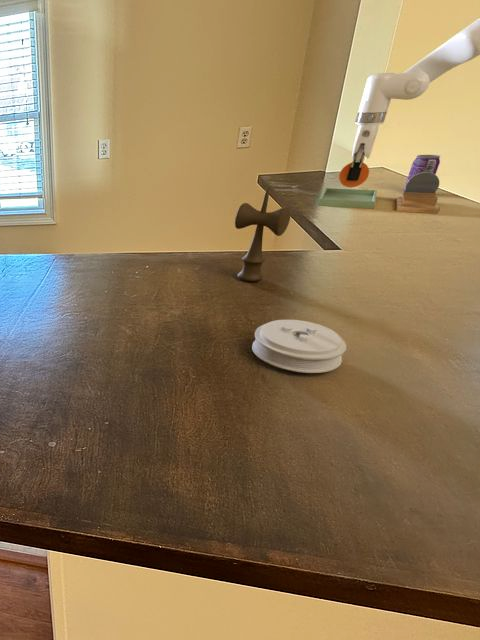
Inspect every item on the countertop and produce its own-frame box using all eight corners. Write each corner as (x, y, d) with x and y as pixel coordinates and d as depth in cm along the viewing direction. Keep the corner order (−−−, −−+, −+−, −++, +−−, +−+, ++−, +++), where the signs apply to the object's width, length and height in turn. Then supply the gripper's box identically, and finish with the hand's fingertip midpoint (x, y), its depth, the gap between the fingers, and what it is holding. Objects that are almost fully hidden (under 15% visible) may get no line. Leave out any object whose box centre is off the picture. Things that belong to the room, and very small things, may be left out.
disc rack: (396, 200, 159) (400, 188, 157) (434, 202, 154) (439, 190, 152) (396, 211, 148) (400, 198, 146) (438, 213, 143) (442, 200, 141)
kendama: (266, 288, 103) (287, 192, 93) (222, 278, 110) (238, 187, 100) (277, 280, 107) (299, 186, 97) (234, 271, 113) (250, 183, 103)
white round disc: (245, 337, 85) (251, 311, 82) (327, 342, 81) (335, 316, 79) (257, 374, 75) (263, 346, 72) (351, 382, 71) (361, 352, 68)
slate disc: (402, 198, 155) (410, 171, 151) (434, 198, 151) (443, 171, 147) (402, 198, 154) (410, 172, 151) (434, 199, 150) (443, 172, 146)
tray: (323, 194, 174) (325, 188, 173) (374, 196, 166) (376, 190, 165) (317, 205, 160) (319, 198, 159) (373, 208, 152) (375, 201, 151)
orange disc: (336, 185, 163) (343, 160, 159) (364, 187, 159) (372, 162, 155) (335, 186, 162) (343, 161, 158) (363, 188, 158) (372, 162, 154)
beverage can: (431, 192, 165) (445, 155, 159) (423, 196, 162) (437, 158, 156) (407, 190, 170) (420, 154, 164) (398, 193, 167) (411, 156, 161)
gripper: (384, 120, 143) (364, 184, 152) (385, 116, 154) (366, 176, 163) (354, 121, 147) (337, 183, 156) (357, 116, 158) (340, 175, 167)
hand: (352, 179), depth 160 cm, fingers closed on orange disc, 1 cm apart
